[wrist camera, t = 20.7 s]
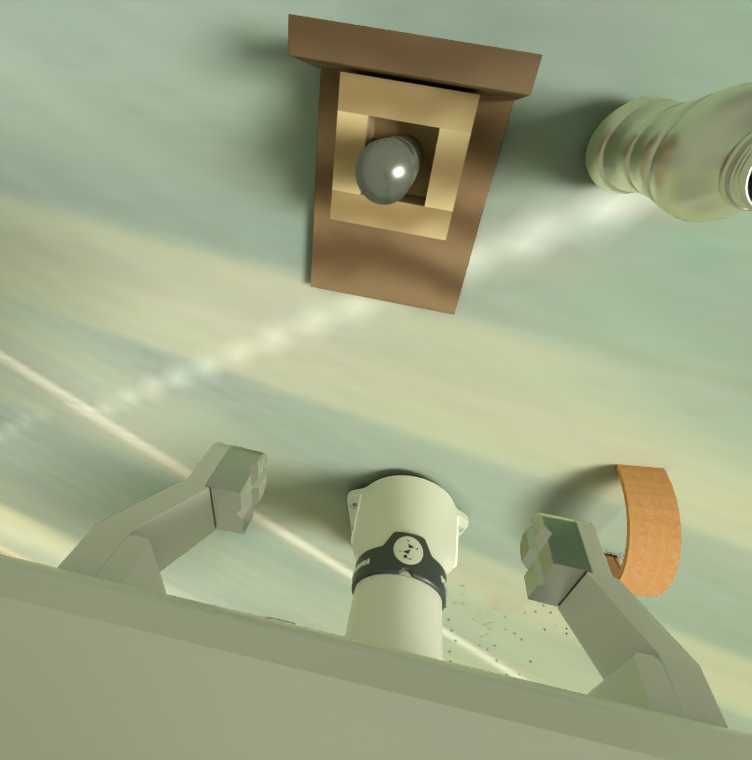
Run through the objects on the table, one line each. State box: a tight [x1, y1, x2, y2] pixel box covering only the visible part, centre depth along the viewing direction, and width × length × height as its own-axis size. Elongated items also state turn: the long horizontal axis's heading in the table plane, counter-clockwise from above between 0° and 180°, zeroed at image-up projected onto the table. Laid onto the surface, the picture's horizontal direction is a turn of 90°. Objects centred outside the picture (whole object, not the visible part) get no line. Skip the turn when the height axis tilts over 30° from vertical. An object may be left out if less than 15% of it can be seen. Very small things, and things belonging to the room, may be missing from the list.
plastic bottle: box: [586, 82, 752, 222], centre depth 25 cm, size 6×7×20 cm
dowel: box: [355, 134, 424, 205], centre depth 29 cm, size 4×4×12 cm
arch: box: [604, 464, 681, 597], centre depth 52 cm, size 6×20×10 cm, turn 1°
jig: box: [288, 14, 542, 314], centre depth 34 cm, size 21×16×9 cm
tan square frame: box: [330, 71, 480, 240], centre depth 33 cm, size 10×10×6 cm
